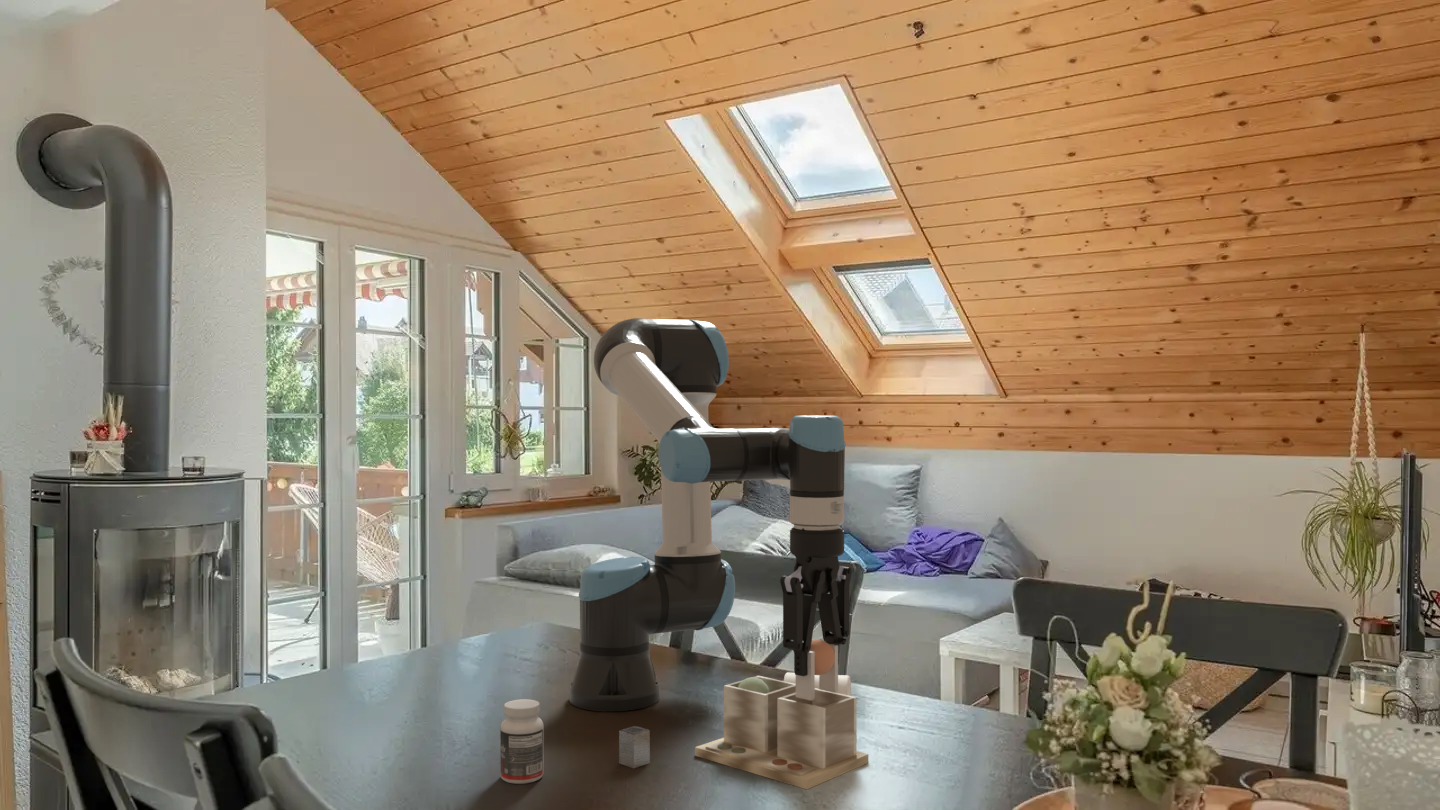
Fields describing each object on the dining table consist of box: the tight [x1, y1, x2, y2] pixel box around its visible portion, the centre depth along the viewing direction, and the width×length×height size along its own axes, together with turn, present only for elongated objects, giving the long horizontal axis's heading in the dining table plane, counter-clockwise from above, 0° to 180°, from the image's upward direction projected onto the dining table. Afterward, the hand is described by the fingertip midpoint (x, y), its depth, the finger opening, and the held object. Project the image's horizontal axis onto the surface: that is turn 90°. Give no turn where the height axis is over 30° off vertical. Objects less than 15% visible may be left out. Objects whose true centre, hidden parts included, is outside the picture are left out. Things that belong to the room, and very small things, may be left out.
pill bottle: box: [499, 698, 545, 785], centre depth 146 cm, size 6×6×10 cm
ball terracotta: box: [810, 639, 835, 675], centre depth 151 cm, size 5×5×5 cm
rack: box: [694, 675, 869, 790], centre depth 153 cm, size 20×14×9 cm
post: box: [618, 725, 651, 769], centre depth 152 cm, size 3×3×5 cm
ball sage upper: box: [738, 676, 769, 694], centre depth 158 cm, size 5×5×5 cm
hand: (817, 693), depth 151 cm, fingers closed on ball terracotta, 5 cm apart
